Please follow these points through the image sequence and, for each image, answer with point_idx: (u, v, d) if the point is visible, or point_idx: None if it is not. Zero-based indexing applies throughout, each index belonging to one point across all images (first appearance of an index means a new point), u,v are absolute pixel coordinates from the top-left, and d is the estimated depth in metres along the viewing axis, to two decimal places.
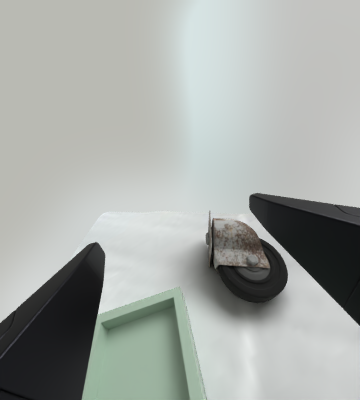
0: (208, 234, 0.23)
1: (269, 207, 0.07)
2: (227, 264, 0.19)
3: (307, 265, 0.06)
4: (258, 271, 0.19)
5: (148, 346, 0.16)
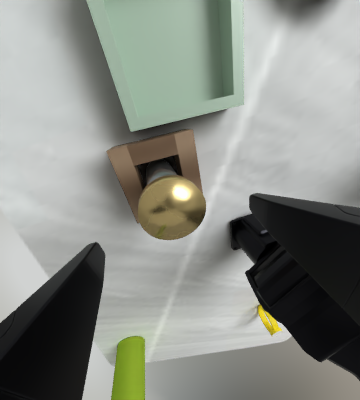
0: None
1: (269, 207, 0.07)
2: None
3: (307, 265, 0.06)
4: None
5: (174, 23, 0.12)
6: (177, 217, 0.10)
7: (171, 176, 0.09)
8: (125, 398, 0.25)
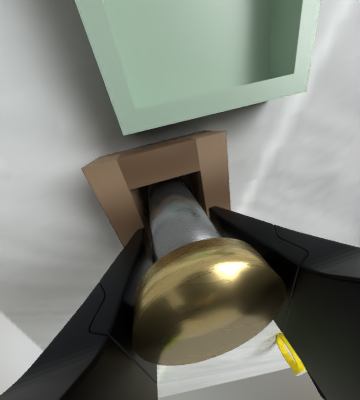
0: None
1: (220, 222, 0.07)
2: None
3: None
4: None
5: None
6: (222, 329, 0.04)
7: (214, 246, 0.04)
8: None
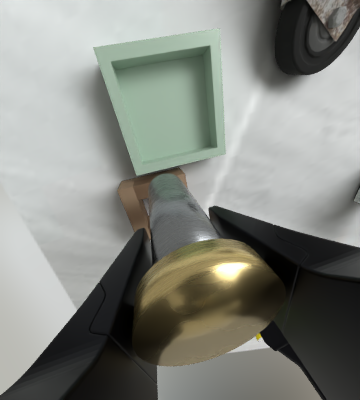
0: None
1: (221, 222, 0.07)
2: (311, 4, 0.13)
3: None
4: (323, 38, 0.15)
5: (172, 97, 0.16)
6: (221, 330, 0.04)
7: (213, 248, 0.04)
8: None
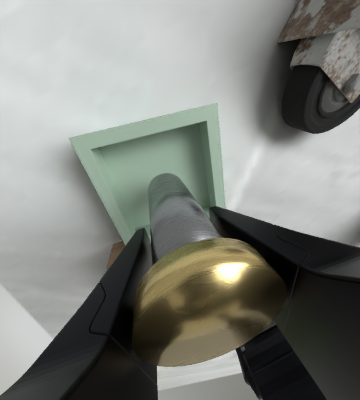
0: None
1: (220, 222, 0.07)
2: (327, 72, 0.11)
3: None
4: (337, 101, 0.13)
5: (165, 165, 0.14)
6: (222, 330, 0.04)
7: (214, 247, 0.04)
8: None
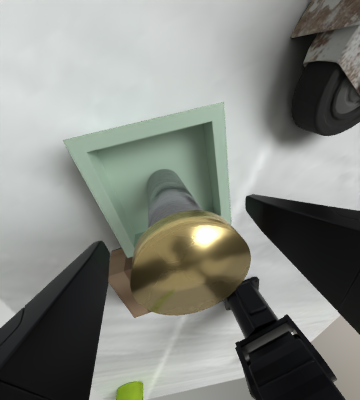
0: None
1: (264, 208, 0.07)
2: (344, 69, 0.10)
3: (302, 267, 0.06)
4: (352, 102, 0.13)
5: (167, 168, 0.14)
6: (200, 283, 0.06)
7: (192, 214, 0.05)
8: None
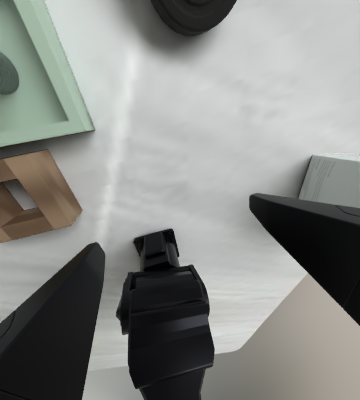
0: None
1: (269, 207, 0.07)
2: None
3: (307, 265, 0.06)
4: None
5: None
6: None
7: None
8: None
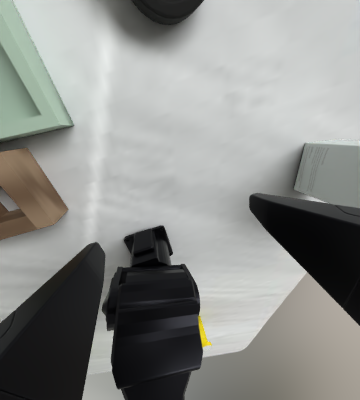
0: None
1: (269, 207, 0.07)
2: None
3: (307, 265, 0.06)
4: None
5: None
6: None
7: None
8: None
